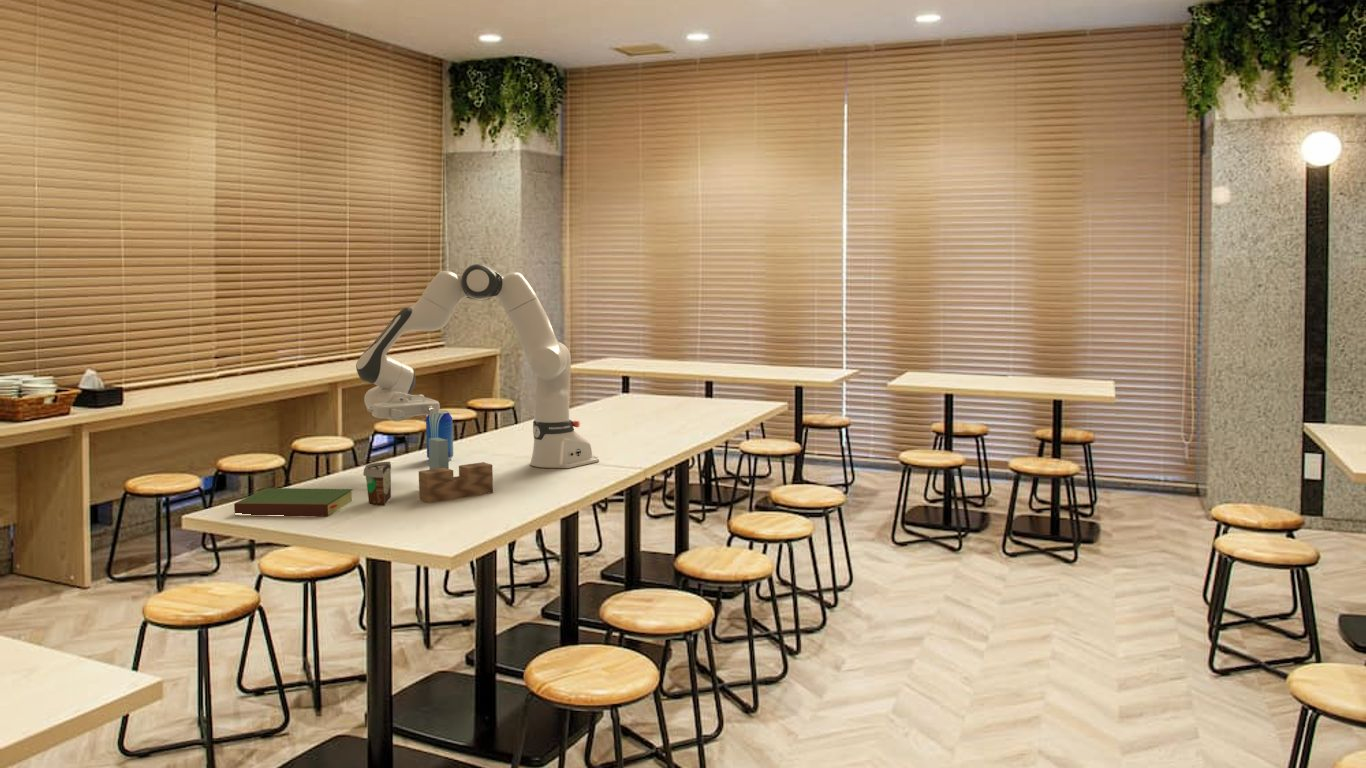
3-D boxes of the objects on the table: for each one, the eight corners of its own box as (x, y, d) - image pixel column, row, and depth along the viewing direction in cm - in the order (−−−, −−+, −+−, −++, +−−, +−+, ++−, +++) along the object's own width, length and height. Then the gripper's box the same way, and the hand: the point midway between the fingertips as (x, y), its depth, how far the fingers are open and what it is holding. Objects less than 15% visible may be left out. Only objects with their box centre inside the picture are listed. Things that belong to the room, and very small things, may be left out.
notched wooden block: (484, 489, 308) (483, 462, 307) (492, 492, 304) (492, 464, 303) (419, 499, 295) (418, 471, 294) (428, 503, 291) (427, 473, 290)
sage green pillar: (439, 484, 315) (438, 437, 313) (449, 488, 310) (447, 440, 308) (430, 486, 313) (428, 438, 311) (439, 489, 308) (438, 441, 307)
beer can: (447, 462, 348) (445, 413, 346) (422, 461, 350) (421, 413, 348) (457, 458, 356) (456, 410, 355) (433, 457, 358) (432, 409, 356)
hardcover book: (234, 517, 277) (234, 503, 277) (266, 501, 296) (265, 488, 295) (330, 518, 276) (329, 504, 276) (355, 502, 295) (355, 489, 294)
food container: (369, 497, 299) (368, 461, 298) (392, 496, 299) (390, 461, 298) (359, 507, 286) (358, 470, 285) (383, 506, 287) (382, 469, 286)
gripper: (364, 398, 322) (384, 404, 311) (426, 393, 335) (448, 399, 324) (364, 419, 322) (384, 426, 312) (426, 414, 336) (448, 420, 325)
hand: (417, 412), depth 318 cm, fingers open, 8 cm apart
